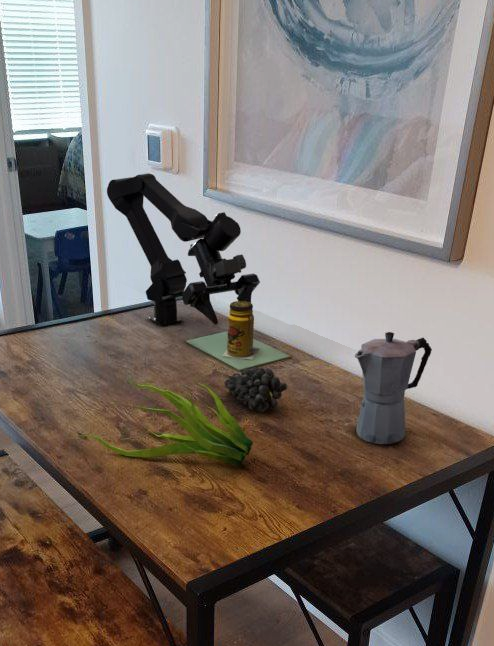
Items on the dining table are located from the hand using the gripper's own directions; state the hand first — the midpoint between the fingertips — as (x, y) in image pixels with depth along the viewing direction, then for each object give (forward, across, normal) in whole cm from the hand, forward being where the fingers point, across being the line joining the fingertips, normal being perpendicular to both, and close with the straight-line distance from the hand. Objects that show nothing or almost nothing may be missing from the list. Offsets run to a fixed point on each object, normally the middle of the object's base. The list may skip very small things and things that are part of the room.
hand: (233, 320), depth 165 cm
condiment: (+7, +1, +3) cm, 8 cm away
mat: (+5, +1, +5) cm, 7 cm away
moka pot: (+40, +2, -30) cm, 50 cm away
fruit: (+24, -12, -14) cm, 30 cm away
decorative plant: (+32, -39, -22) cm, 54 cm away
